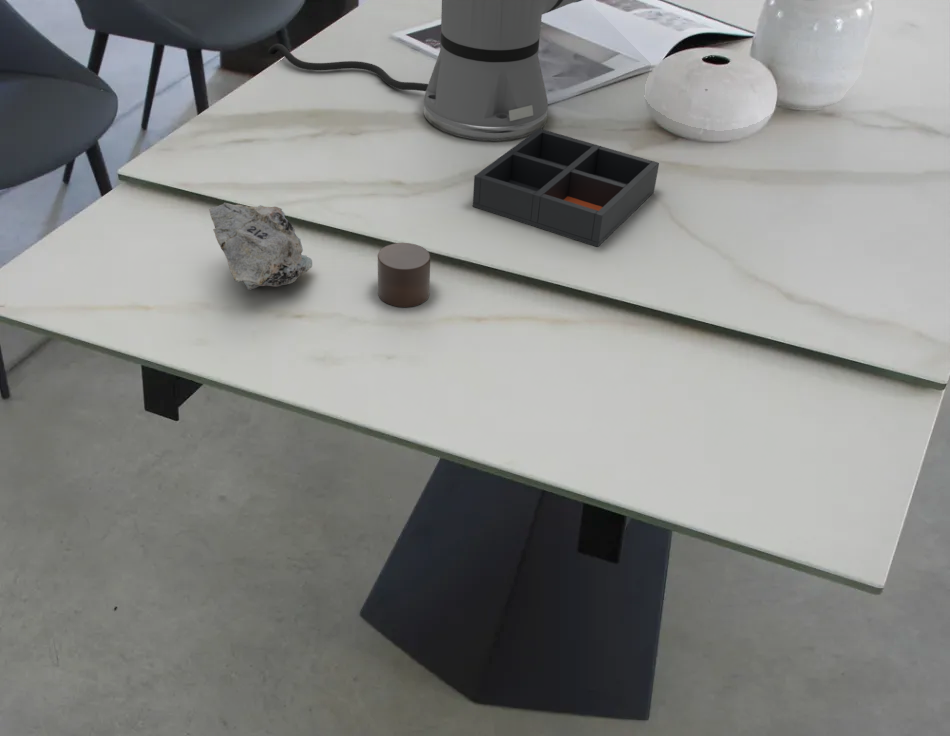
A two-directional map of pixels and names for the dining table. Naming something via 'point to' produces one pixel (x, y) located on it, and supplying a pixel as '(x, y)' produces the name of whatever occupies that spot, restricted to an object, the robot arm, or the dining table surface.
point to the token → (403, 274)
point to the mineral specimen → (259, 245)
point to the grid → (565, 186)
